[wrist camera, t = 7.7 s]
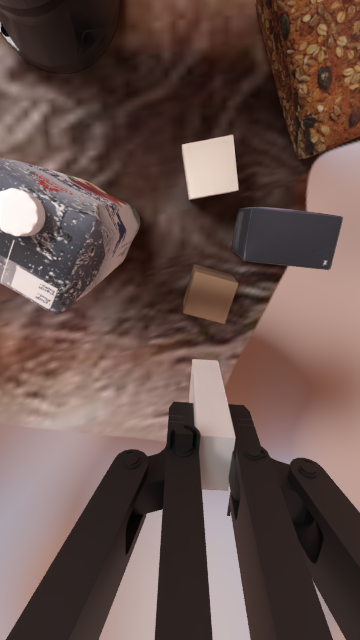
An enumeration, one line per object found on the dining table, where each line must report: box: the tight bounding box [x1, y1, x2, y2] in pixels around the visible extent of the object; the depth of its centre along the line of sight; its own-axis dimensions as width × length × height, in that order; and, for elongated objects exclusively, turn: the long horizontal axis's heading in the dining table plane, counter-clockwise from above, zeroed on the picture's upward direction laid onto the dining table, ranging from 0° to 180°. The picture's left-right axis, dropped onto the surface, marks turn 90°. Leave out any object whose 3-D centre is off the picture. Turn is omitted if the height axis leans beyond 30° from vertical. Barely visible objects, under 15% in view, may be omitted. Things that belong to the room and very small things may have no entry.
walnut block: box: [183, 264, 239, 324], centre depth 46 cm, size 6×6×6 cm
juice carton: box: [0, 158, 140, 315], centre depth 33 cm, size 9×10×27 cm
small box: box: [231, 207, 343, 270], centre depth 41 cm, size 11×6×10 cm, turn 84°
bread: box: [256, 0, 360, 159], centre depth 35 cm, size 19×11×10 cm, turn 22°
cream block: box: [182, 135, 239, 200], centre depth 41 cm, size 6×6×6 cm
